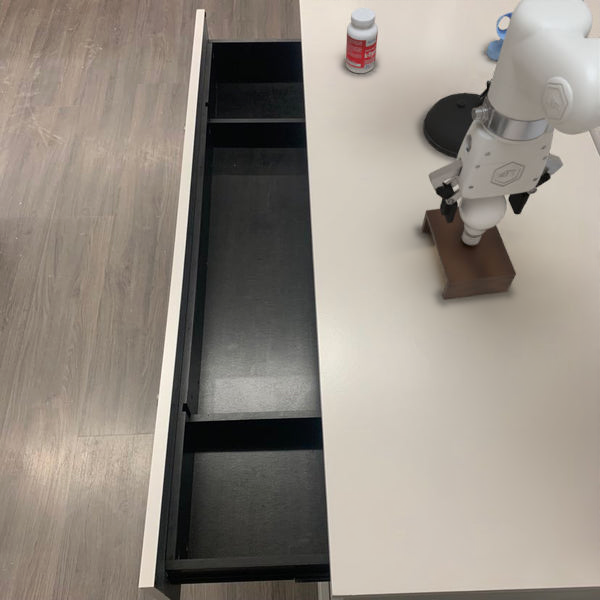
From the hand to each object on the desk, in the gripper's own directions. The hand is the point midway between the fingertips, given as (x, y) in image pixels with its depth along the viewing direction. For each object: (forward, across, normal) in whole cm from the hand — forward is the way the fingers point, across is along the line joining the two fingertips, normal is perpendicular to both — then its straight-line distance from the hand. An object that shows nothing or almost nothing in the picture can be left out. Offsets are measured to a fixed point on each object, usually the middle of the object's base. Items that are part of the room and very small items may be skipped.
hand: (480, 211), depth 75 cm
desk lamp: (+12, +8, +29) cm, 32 cm away
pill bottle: (+12, -7, +52) cm, 54 cm away
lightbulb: (+7, 0, 0) cm, 7 cm away
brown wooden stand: (+12, 0, 0) cm, 12 cm away
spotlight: (+12, +22, +50) cm, 56 cm away
